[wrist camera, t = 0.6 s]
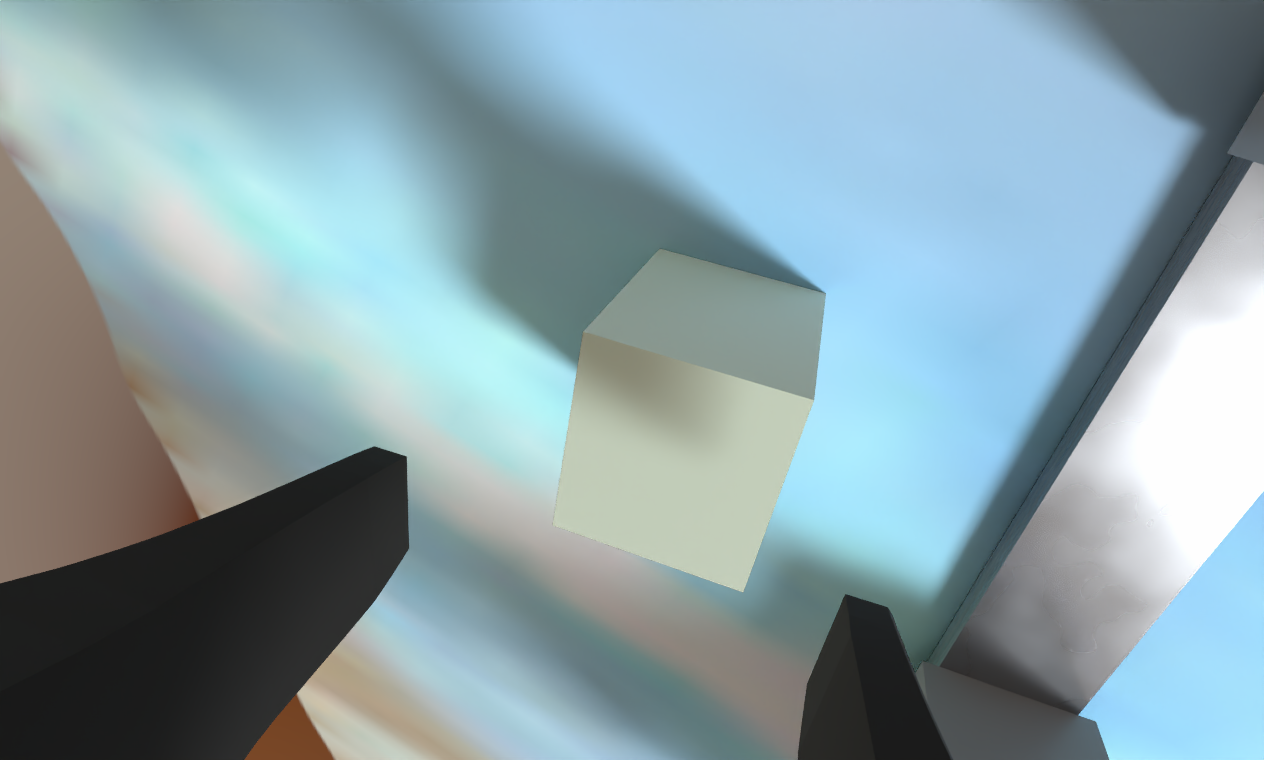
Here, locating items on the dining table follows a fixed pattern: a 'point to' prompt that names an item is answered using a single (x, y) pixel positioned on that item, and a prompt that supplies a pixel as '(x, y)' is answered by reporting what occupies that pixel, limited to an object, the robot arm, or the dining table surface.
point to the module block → (689, 414)
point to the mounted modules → (1005, 721)
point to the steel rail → (1134, 474)
